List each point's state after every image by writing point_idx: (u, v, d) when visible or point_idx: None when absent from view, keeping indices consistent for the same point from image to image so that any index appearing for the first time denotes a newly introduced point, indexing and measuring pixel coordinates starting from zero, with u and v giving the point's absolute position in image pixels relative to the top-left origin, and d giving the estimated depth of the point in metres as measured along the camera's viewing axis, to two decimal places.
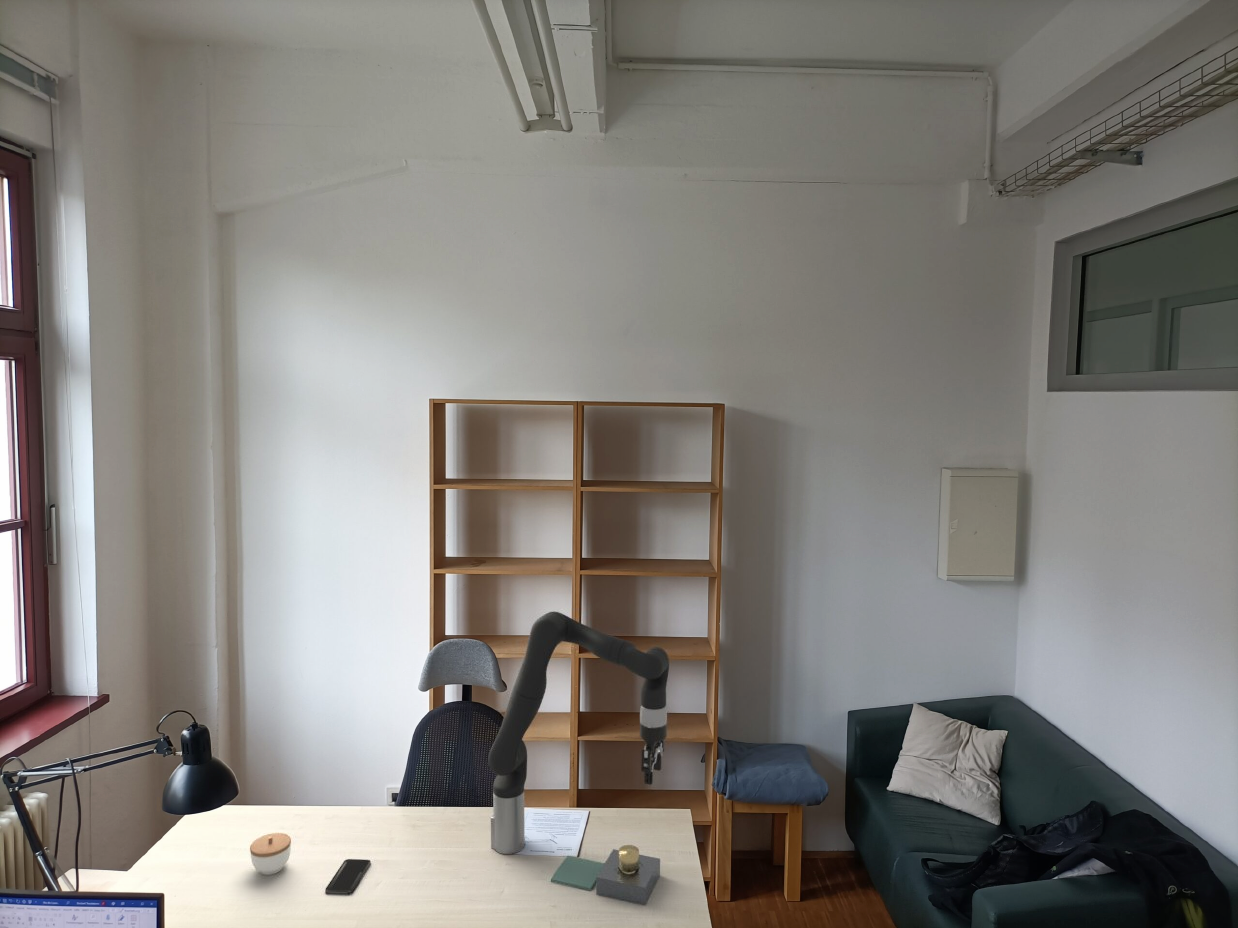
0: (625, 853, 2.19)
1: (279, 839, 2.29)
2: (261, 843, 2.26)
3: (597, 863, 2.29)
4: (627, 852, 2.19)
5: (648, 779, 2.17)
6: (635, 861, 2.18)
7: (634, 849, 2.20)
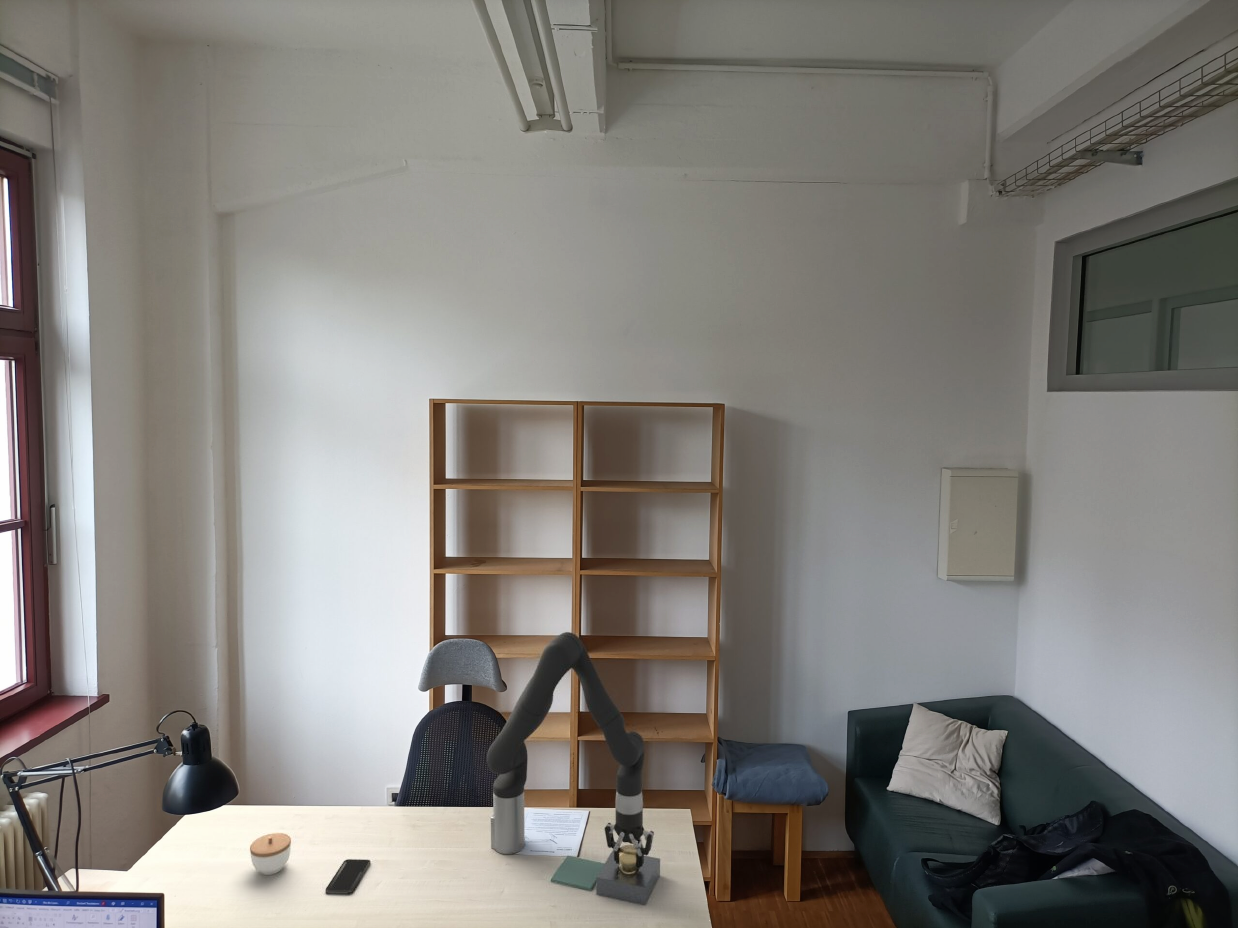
0: (625, 852, 2.19)
1: (279, 839, 2.29)
2: (261, 843, 2.26)
3: (597, 863, 2.29)
4: (627, 852, 2.19)
5: (643, 860, 2.19)
6: (635, 861, 2.18)
7: (634, 849, 2.20)
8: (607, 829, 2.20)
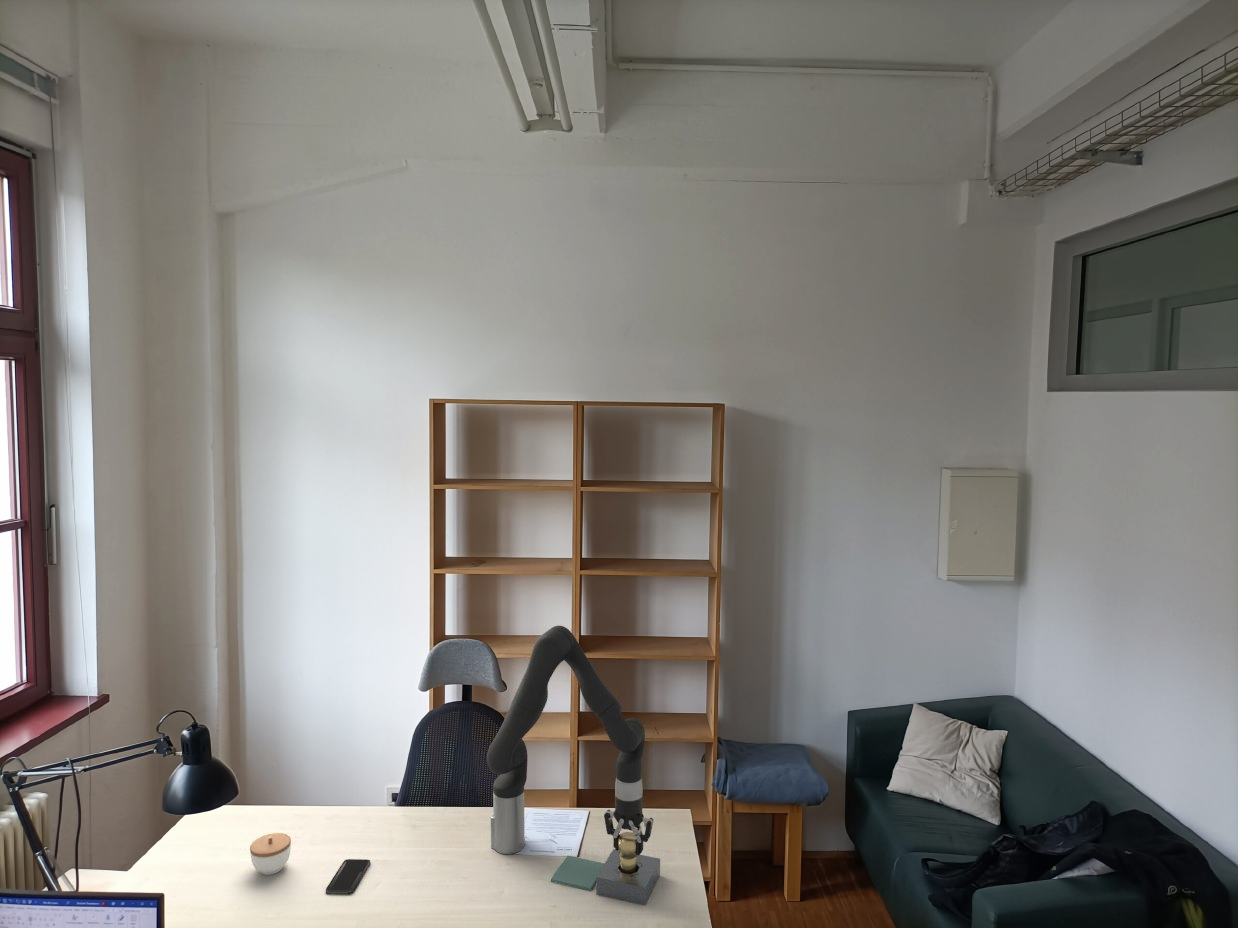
0: (624, 839, 2.18)
1: (279, 839, 2.29)
2: (261, 843, 2.26)
3: (597, 863, 2.29)
4: (627, 838, 2.18)
5: (642, 847, 2.18)
6: (635, 848, 2.17)
7: (634, 836, 2.20)
8: (606, 816, 2.19)
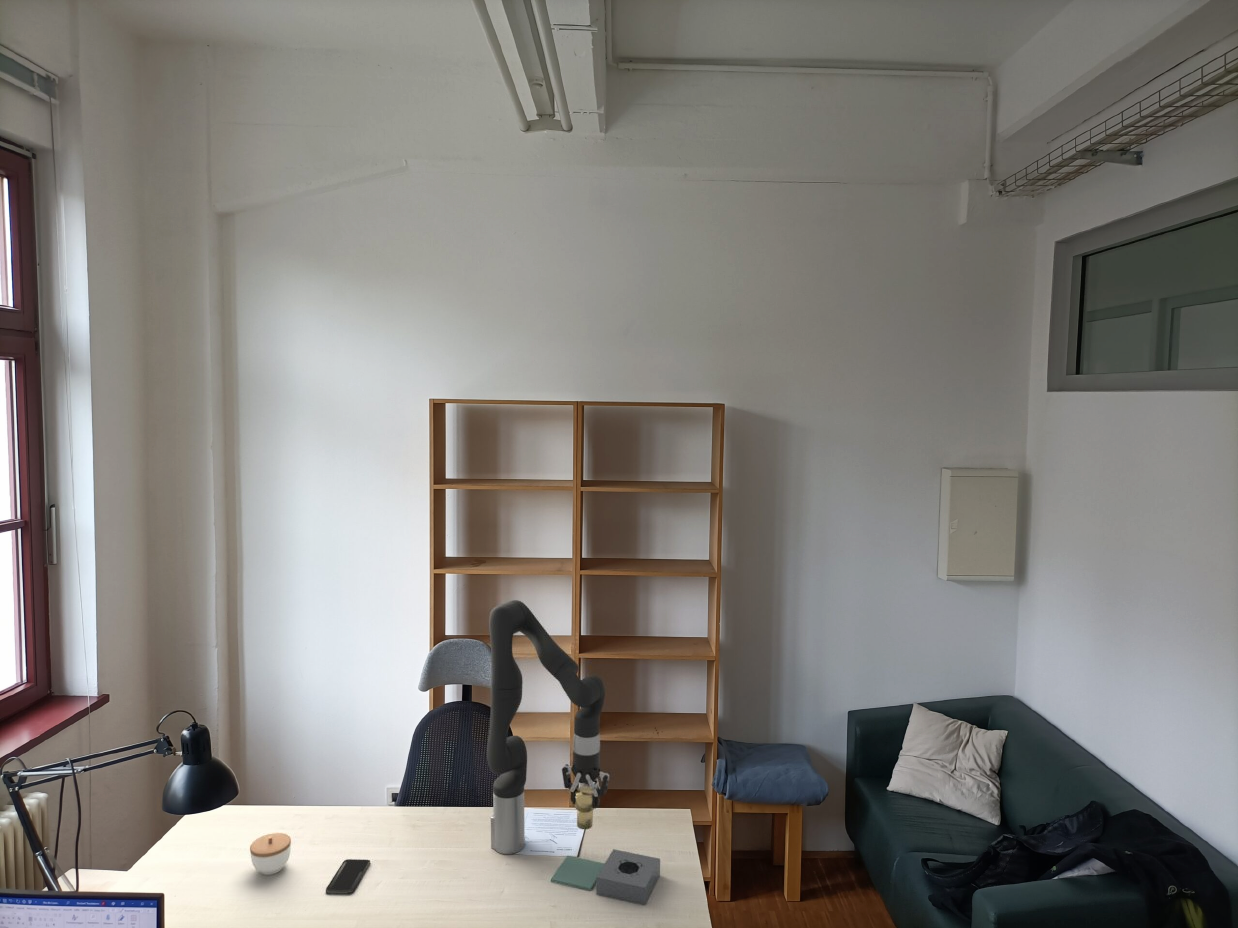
0: (581, 793, 2.22)
1: (279, 839, 2.29)
2: (261, 843, 2.26)
3: (597, 863, 2.29)
4: (584, 792, 2.22)
5: (599, 801, 2.22)
6: (591, 801, 2.21)
7: (591, 790, 2.24)
8: (564, 770, 2.23)
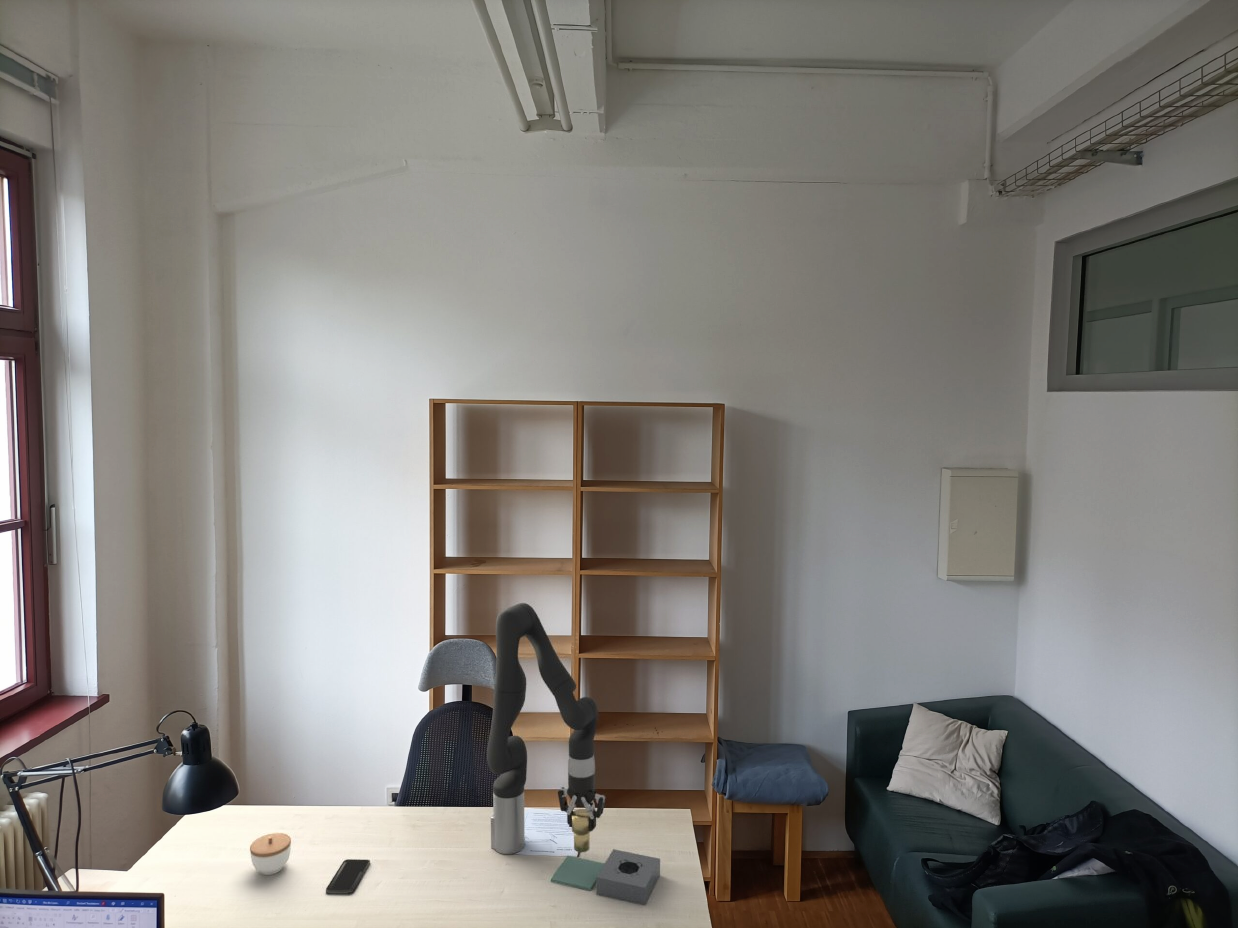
0: (577, 816, 2.22)
1: (279, 839, 2.29)
2: (261, 843, 2.26)
3: (597, 863, 2.29)
4: (580, 815, 2.23)
5: (595, 823, 2.23)
6: (587, 824, 2.22)
7: (587, 813, 2.24)
8: (560, 793, 2.24)
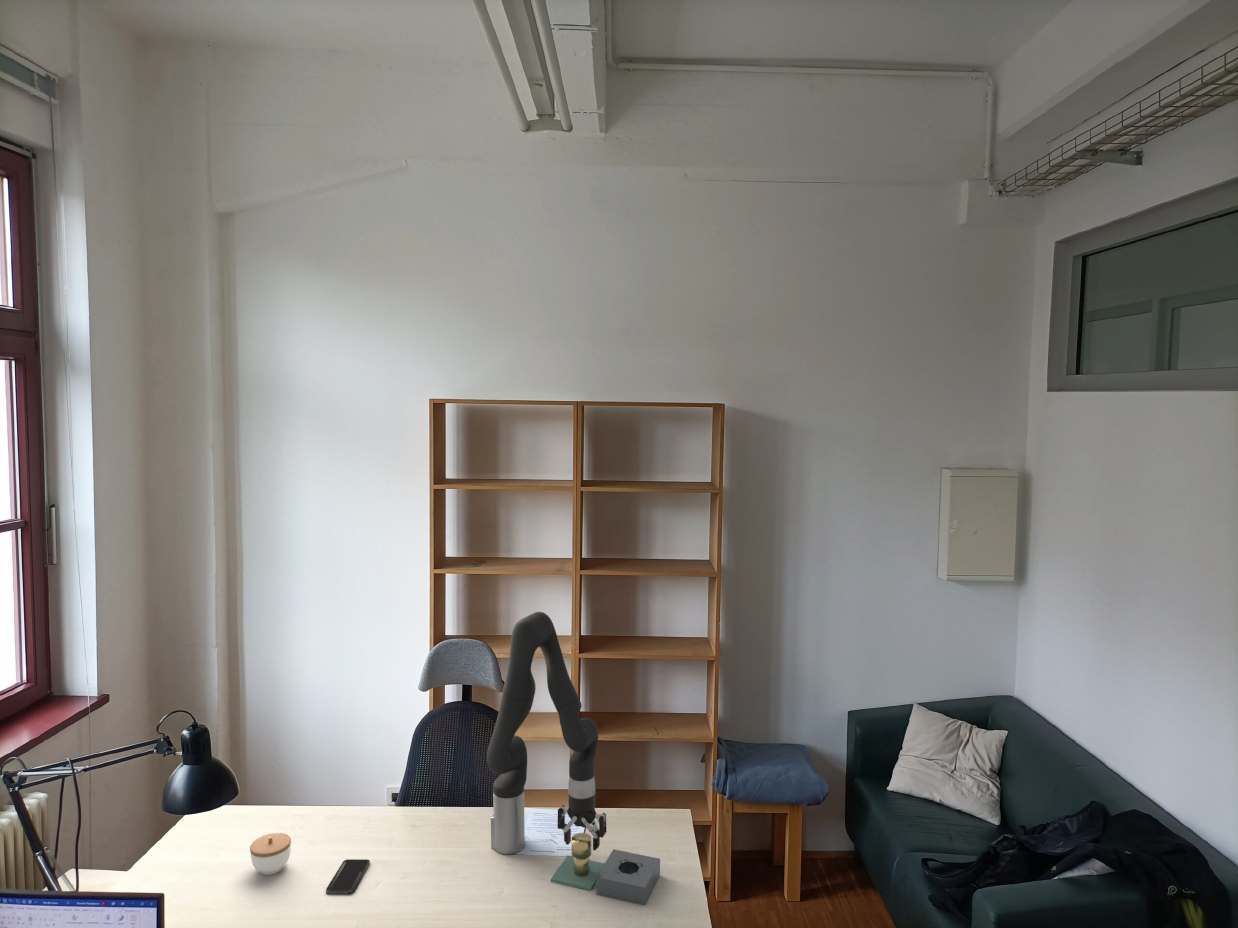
0: (577, 840, 2.23)
1: (279, 839, 2.29)
2: (261, 843, 2.26)
3: (597, 863, 2.29)
4: (580, 839, 2.23)
5: (598, 843, 2.23)
6: (587, 849, 2.22)
7: (587, 837, 2.25)
8: (560, 811, 2.24)
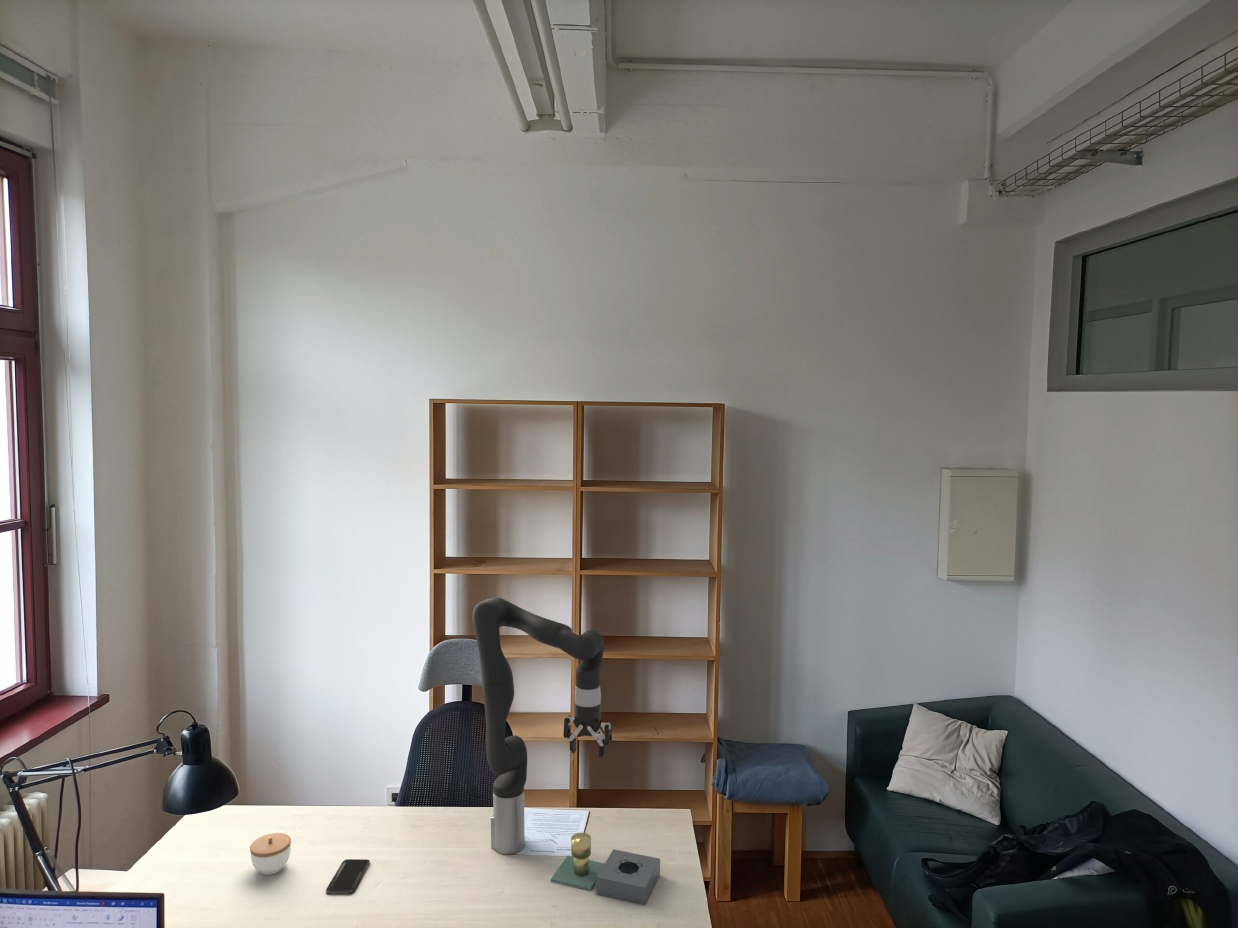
0: (577, 840, 2.23)
1: (279, 839, 2.29)
2: (261, 843, 2.26)
3: (597, 863, 2.29)
4: (579, 839, 2.24)
5: (604, 751, 2.29)
6: (587, 848, 2.22)
7: (586, 836, 2.25)
8: (566, 720, 2.30)
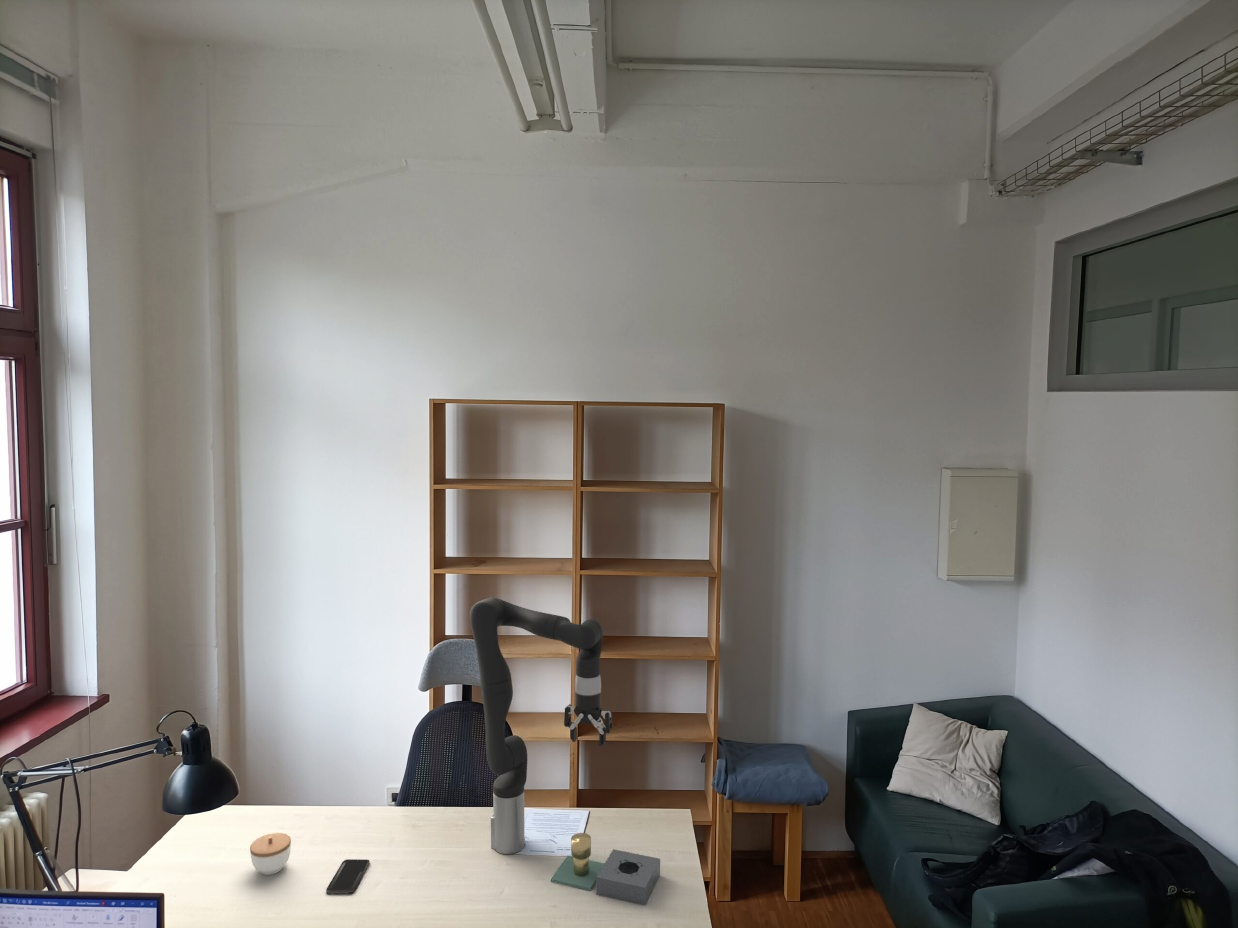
0: (577, 840, 2.23)
1: (279, 839, 2.29)
2: (261, 843, 2.26)
3: (597, 863, 2.29)
4: (579, 839, 2.23)
5: (605, 739, 2.31)
6: (587, 848, 2.22)
7: (586, 837, 2.25)
8: (567, 709, 2.32)
